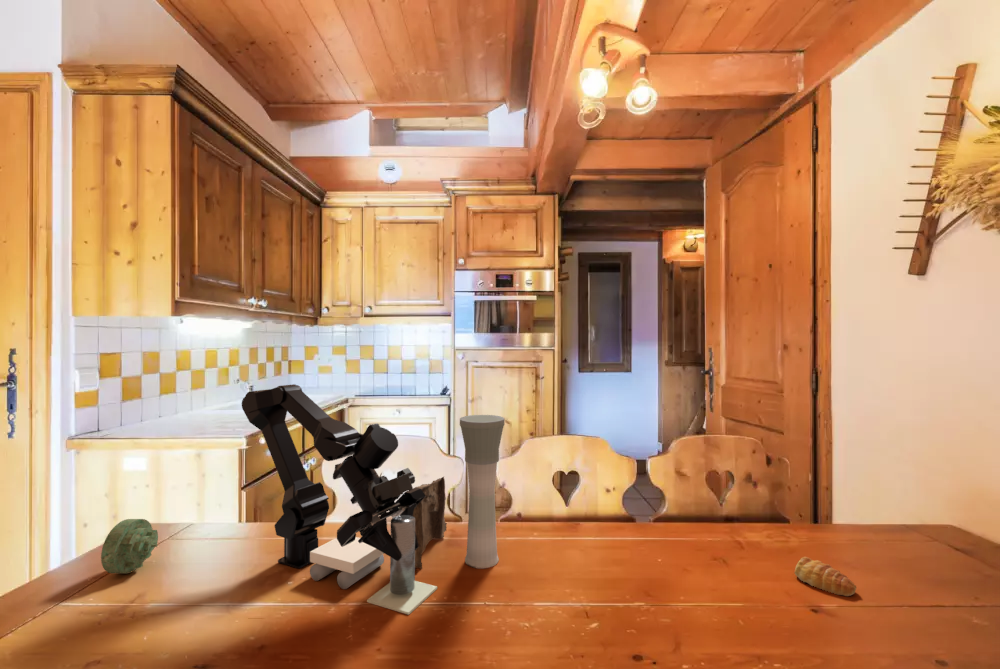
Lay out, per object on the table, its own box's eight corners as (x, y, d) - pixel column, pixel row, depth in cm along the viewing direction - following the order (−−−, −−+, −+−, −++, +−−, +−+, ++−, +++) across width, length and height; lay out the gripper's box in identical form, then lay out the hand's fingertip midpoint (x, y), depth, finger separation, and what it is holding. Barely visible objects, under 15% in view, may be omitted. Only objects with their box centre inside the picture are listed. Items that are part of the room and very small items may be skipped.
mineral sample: (421, 569, 94) (421, 494, 94) (402, 567, 95) (402, 493, 95) (448, 535, 110) (448, 471, 110) (432, 533, 111) (432, 470, 111)
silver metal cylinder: (386, 593, 83) (386, 523, 83) (395, 580, 87) (396, 514, 87) (409, 595, 82) (410, 525, 82) (417, 582, 86) (418, 515, 86)
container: (496, 547, 104) (496, 413, 104) (510, 567, 95) (510, 421, 95) (454, 553, 101) (455, 416, 101) (465, 574, 92) (465, 423, 92)
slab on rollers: (307, 578, 90) (308, 552, 90) (344, 556, 99) (344, 533, 99) (351, 591, 86) (351, 564, 86) (385, 567, 95) (386, 542, 95)
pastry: (863, 592, 86) (862, 571, 86) (845, 603, 82) (845, 581, 83) (808, 570, 94) (808, 551, 94) (790, 579, 91) (790, 560, 91)
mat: (367, 602, 82) (367, 599, 82) (398, 578, 90) (398, 576, 90) (408, 614, 78) (408, 612, 78) (437, 588, 86) (437, 586, 86)
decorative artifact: (140, 558, 98) (141, 511, 98) (173, 558, 98) (174, 511, 98) (100, 583, 88) (100, 531, 88) (137, 583, 88) (137, 530, 88)
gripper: (349, 470, 78) (398, 550, 73) (418, 447, 95) (463, 511, 89) (316, 507, 82) (361, 586, 77) (389, 479, 98) (430, 543, 93)
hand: (408, 553), depth 84 cm, fingers closed on silver metal cylinder, 4 cm apart
